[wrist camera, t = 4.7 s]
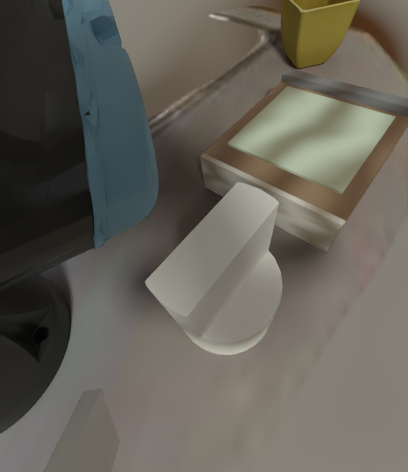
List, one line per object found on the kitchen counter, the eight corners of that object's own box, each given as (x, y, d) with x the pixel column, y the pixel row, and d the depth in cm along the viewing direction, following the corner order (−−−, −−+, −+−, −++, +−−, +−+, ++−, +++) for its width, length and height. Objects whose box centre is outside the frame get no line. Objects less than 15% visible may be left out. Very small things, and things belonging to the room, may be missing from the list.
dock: (204, 187, 32) (198, 148, 27) (281, 110, 39) (288, 68, 34) (325, 252, 26) (347, 218, 21) (393, 148, 32) (422, 102, 27)
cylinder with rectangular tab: (235, 379, 21) (234, 365, 11) (159, 312, 25) (105, 255, 15) (291, 294, 24) (330, 223, 14) (216, 246, 28) (204, 161, 18)
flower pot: (341, 67, 43) (363, -3, 36) (291, 78, 43) (302, 10, 36) (318, 45, 48) (333, -21, 41) (273, 55, 48) (280, -9, 40)
